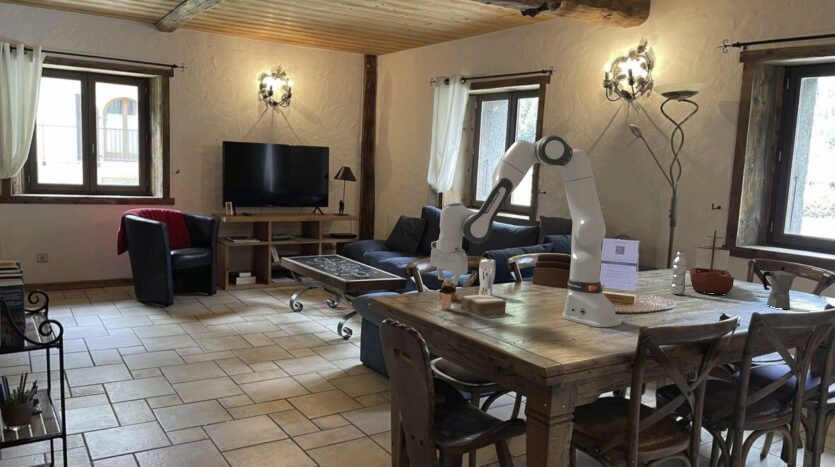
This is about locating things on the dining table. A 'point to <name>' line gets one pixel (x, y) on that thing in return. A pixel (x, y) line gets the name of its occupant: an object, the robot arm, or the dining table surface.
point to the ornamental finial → (451, 292)
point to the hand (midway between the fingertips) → (447, 281)
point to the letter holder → (552, 270)
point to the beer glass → (486, 276)
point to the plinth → (483, 305)
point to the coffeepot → (779, 288)
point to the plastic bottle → (679, 273)
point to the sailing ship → (712, 268)
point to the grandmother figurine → (446, 294)
